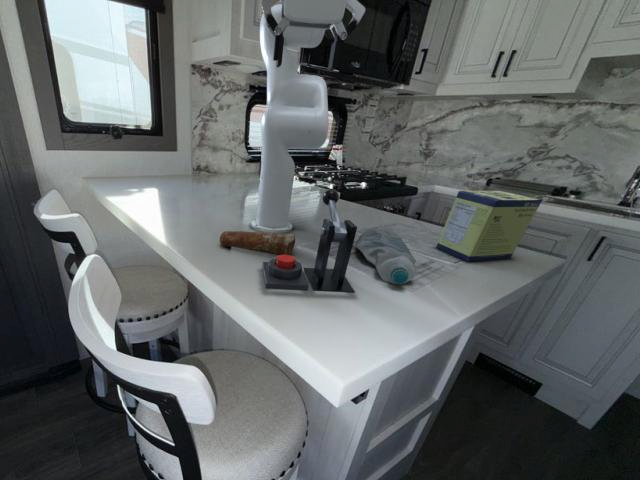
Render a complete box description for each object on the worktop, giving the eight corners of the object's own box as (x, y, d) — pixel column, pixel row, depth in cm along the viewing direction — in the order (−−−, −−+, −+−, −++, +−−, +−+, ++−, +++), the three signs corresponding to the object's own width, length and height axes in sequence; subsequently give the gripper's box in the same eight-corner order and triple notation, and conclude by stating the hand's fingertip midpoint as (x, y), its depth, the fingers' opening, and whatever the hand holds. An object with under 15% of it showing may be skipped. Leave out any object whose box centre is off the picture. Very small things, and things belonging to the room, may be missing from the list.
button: (275, 262, 62) (276, 254, 61) (292, 262, 62) (293, 254, 61) (276, 269, 59) (278, 261, 58) (295, 270, 59) (296, 262, 58)
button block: (261, 270, 66) (263, 253, 64) (298, 272, 67) (301, 255, 65) (265, 293, 58) (267, 274, 56) (306, 295, 58) (310, 276, 56)
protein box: (511, 258, 81) (544, 199, 73) (467, 262, 77) (497, 199, 69) (475, 244, 90) (501, 190, 82) (434, 247, 86) (457, 190, 78)
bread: (290, 262, 72) (294, 239, 69) (216, 248, 77) (216, 226, 74) (295, 252, 77) (299, 231, 74) (225, 240, 82) (226, 219, 79)
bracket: (302, 272, 67) (312, 214, 60) (338, 274, 67) (352, 216, 60) (311, 295, 58) (325, 230, 52) (353, 297, 58) (371, 232, 52)
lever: (319, 198, 65) (323, 185, 62) (334, 199, 65) (339, 186, 62) (328, 243, 57) (333, 230, 55) (344, 244, 58) (350, 231, 55)
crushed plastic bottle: (350, 246, 82) (356, 286, 61) (359, 220, 79) (369, 253, 57) (401, 257, 80) (425, 302, 59) (412, 231, 77) (443, 269, 55)
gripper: (370, -57, 50) (346, 73, 58) (264, -65, 49) (256, 67, 58) (390, -83, 43) (359, 68, 52) (268, -93, 43) (258, 61, 51)
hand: (305, 68), depth 55 cm, fingers open, 9 cm apart
